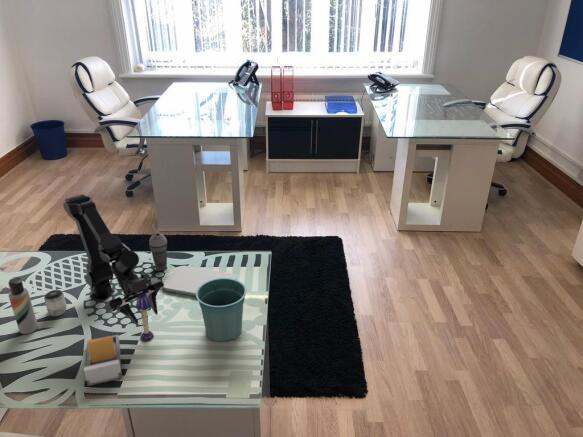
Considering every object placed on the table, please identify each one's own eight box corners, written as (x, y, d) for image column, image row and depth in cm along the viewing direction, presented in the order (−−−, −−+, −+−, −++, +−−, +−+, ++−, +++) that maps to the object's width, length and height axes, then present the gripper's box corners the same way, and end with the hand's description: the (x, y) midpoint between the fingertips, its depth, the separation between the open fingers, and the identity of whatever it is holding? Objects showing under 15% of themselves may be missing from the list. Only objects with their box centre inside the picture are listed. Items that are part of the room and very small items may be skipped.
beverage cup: (165, 273, 194) (160, 229, 185) (149, 271, 195) (142, 227, 186) (173, 263, 200) (168, 221, 191) (157, 261, 201) (151, 219, 192)
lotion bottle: (23, 323, 165) (9, 275, 155) (40, 323, 165) (27, 274, 156) (16, 334, 159) (1, 285, 150) (34, 334, 160) (19, 284, 151)
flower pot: (190, 326, 165) (187, 288, 157) (231, 309, 174) (230, 272, 166) (214, 353, 153) (211, 313, 146) (257, 333, 162) (256, 294, 155)
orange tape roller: (88, 346, 155) (84, 331, 152) (119, 339, 158) (116, 325, 155) (87, 386, 140) (83, 371, 137) (121, 378, 143) (119, 363, 140)
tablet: (223, 303, 177) (222, 298, 176) (159, 291, 183) (159, 286, 182) (238, 279, 191) (238, 274, 190) (179, 269, 197) (178, 264, 196)
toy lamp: (148, 330, 163) (142, 290, 155) (158, 335, 161) (152, 294, 153) (137, 338, 159) (131, 297, 151) (148, 343, 157) (141, 302, 149)
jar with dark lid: (68, 313, 170) (64, 295, 166) (49, 319, 167) (44, 300, 164) (65, 304, 175) (61, 286, 171) (47, 309, 172) (42, 291, 168)
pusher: (91, 360, 148) (86, 340, 144) (115, 355, 150) (112, 335, 147) (91, 363, 147) (86, 343, 143) (116, 357, 149) (112, 337, 146)
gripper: (104, 280, 145) (127, 326, 143) (158, 258, 157) (180, 300, 155) (96, 291, 153) (118, 334, 151) (148, 269, 165) (169, 309, 163)
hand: (147, 318), depth 155 cm, fingers open, 7 cm apart
